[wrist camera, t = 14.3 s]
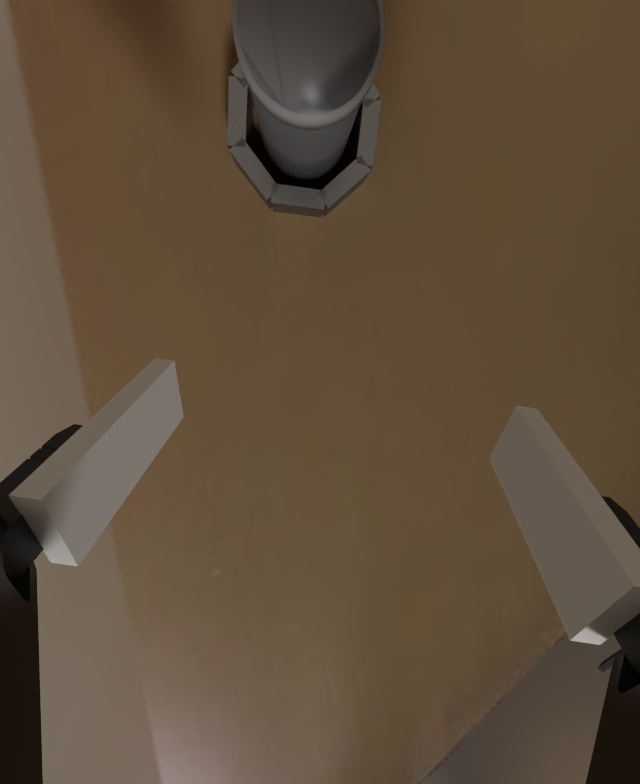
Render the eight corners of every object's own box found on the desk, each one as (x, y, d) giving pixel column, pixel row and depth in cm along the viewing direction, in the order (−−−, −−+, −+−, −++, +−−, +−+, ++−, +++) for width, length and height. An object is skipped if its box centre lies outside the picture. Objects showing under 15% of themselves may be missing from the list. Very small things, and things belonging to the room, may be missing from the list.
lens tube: (351, 98, 25) (397, -58, 14) (340, 195, 27) (372, 130, 16) (263, 83, 24) (234, -92, 13) (258, 184, 26) (229, 108, 15)
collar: (378, 70, 25) (389, 42, 22) (359, 222, 28) (366, 215, 25) (238, 46, 24) (230, 13, 21) (233, 205, 27) (226, 196, 24)
